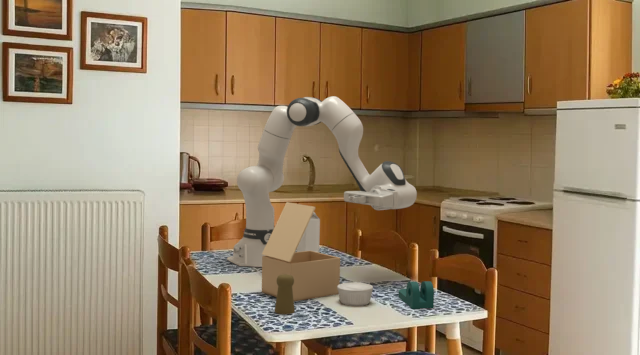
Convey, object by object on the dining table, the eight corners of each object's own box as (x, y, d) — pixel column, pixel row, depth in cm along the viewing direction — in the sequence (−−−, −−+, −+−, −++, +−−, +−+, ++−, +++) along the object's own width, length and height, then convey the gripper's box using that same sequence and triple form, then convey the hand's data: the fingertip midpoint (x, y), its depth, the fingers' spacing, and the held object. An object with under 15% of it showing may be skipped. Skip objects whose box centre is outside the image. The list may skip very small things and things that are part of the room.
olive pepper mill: (299, 311, 211) (299, 275, 210) (283, 315, 207) (284, 277, 206) (285, 307, 215) (286, 271, 215) (270, 311, 211) (270, 274, 210)
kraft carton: (261, 292, 235) (262, 256, 234) (309, 284, 247) (310, 250, 246) (290, 302, 222) (291, 264, 222) (339, 293, 235) (340, 257, 234)
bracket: (433, 309, 219) (434, 284, 218) (412, 309, 218) (413, 284, 217) (415, 295, 237) (416, 271, 236) (395, 295, 236) (396, 272, 235)
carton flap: (262, 254, 234) (261, 254, 233) (287, 202, 238) (286, 202, 238) (290, 262, 222) (289, 261, 222) (315, 207, 227) (314, 206, 226)
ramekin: (334, 305, 220) (335, 289, 219) (338, 297, 231) (339, 281, 230) (371, 308, 218) (371, 291, 218) (373, 299, 229) (374, 283, 229)
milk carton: (305, 254, 305) (306, 210, 304) (296, 251, 311) (297, 208, 310) (319, 253, 309) (320, 209, 308) (310, 250, 315) (311, 207, 314)
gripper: (361, 186, 262) (332, 187, 254) (400, 191, 246) (371, 193, 238) (360, 203, 263) (331, 205, 254) (400, 209, 247) (370, 211, 238)
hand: (351, 199), depth 246 cm, fingers closed
